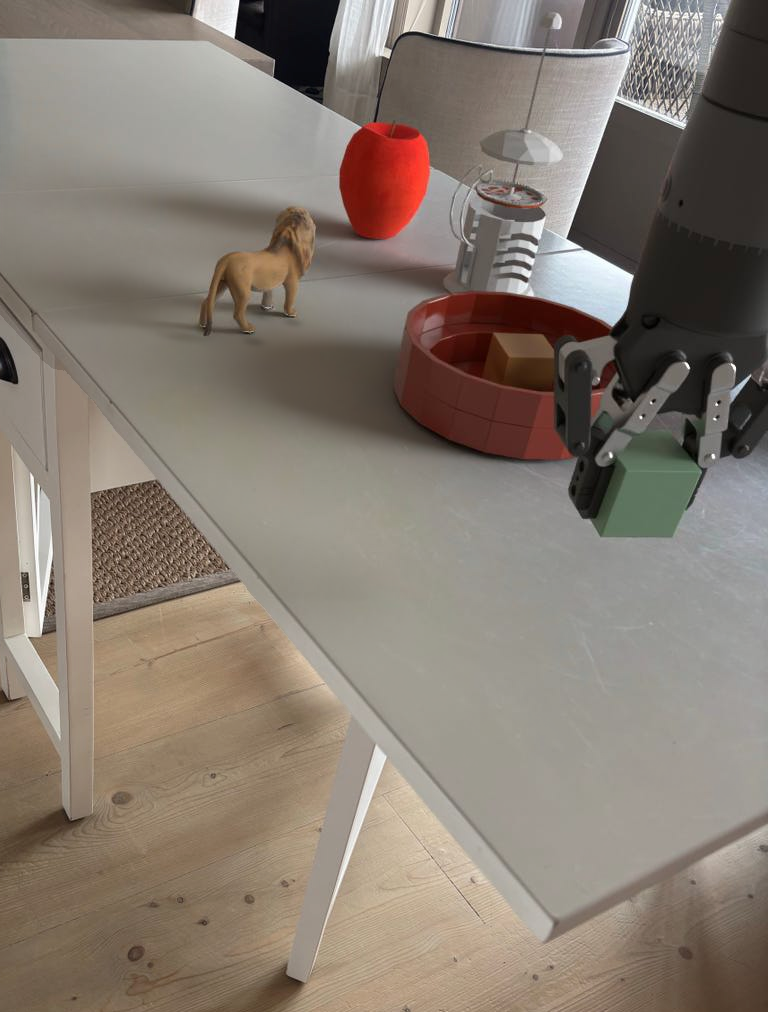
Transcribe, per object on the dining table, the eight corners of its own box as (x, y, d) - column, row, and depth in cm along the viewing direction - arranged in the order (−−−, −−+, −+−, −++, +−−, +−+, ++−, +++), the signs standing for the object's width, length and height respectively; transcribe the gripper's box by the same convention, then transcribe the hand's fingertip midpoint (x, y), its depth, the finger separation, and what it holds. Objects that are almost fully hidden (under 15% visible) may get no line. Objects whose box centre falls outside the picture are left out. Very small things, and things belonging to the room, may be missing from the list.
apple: (364, 257, 106) (382, 136, 98) (314, 226, 112) (327, 109, 104) (434, 247, 111) (457, 130, 103) (383, 217, 117) (400, 104, 109)
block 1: (529, 382, 86) (542, 334, 83) (545, 407, 83) (560, 358, 80) (480, 381, 85) (492, 332, 82) (495, 406, 82) (508, 356, 79)
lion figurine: (277, 289, 97) (285, 195, 91) (321, 306, 95) (332, 211, 89) (182, 333, 88) (185, 231, 82) (229, 352, 86) (235, 250, 80)
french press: (554, 300, 102) (632, 23, 85) (468, 315, 97) (533, 24, 80) (494, 265, 108) (556, 0, 91) (410, 278, 103) (460, 0, 86)
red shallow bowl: (572, 357, 92) (591, 295, 88) (652, 467, 78) (679, 399, 74) (374, 350, 89) (385, 286, 85) (421, 463, 75) (436, 392, 71)
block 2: (643, 494, 59) (669, 429, 56) (673, 538, 56) (702, 471, 53) (573, 493, 59) (596, 427, 56) (600, 537, 56) (625, 470, 53)
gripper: (627, 235, 42) (528, 550, 54) (922, 249, 44) (766, 550, 56) (570, 178, 48) (491, 475, 59) (835, 193, 50) (709, 477, 61)
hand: (625, 510), depth 57 cm, fingers closed on block 2, 4 cm apart
